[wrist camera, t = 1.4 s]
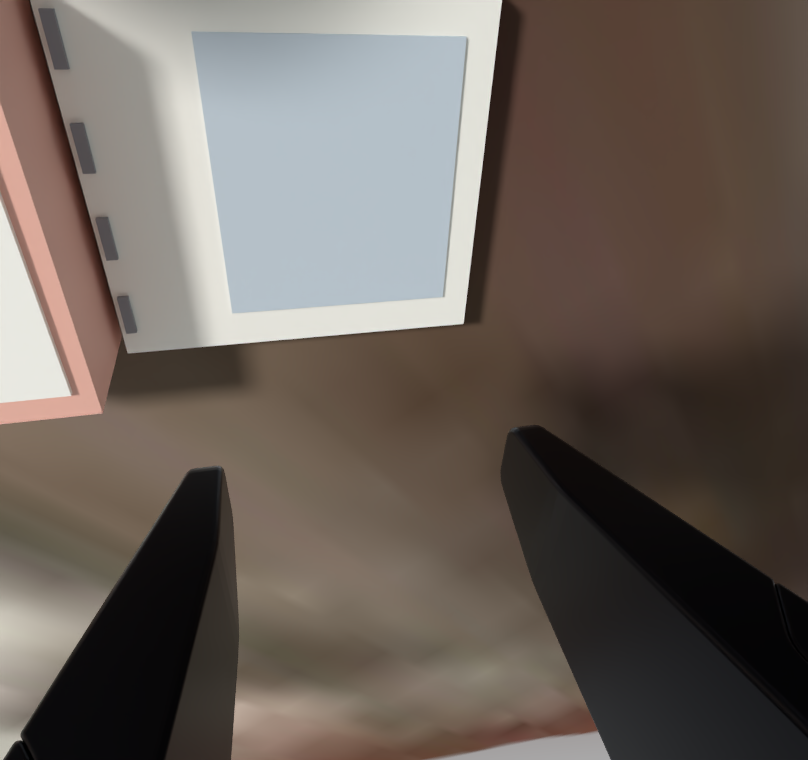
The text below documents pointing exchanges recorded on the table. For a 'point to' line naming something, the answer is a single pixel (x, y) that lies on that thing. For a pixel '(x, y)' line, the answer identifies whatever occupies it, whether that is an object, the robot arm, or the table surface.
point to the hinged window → (276, 160)
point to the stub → (45, 248)
